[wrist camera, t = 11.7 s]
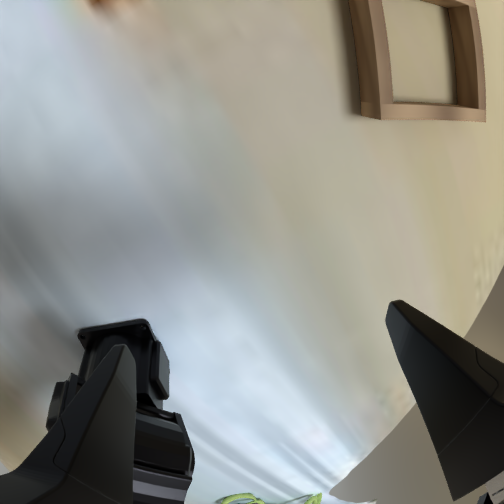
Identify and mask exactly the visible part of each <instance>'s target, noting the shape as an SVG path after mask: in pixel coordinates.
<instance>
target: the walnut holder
mask: <svg viewBox="0 0 504 504" xmlns="http://www.w3.org/2000/svg"><path fill="white" fill-rule="evenodd" d="M348 1H349V7H350V13H351V20H352V26H353V33H354V41H355V48H356V57H357V66H358V76H359V87H360V99H361V113H362V116H365V117H370V118H374V119H379V120H408V119H417V120H457V121H475V122H486V89H485V71H484V58H483V49H482V40H481V33H480V26H479V20H478V14H477V8H476V3H475V0H422V1H426V2H429V3H433V4H436V5H439V6H443V7H446V8H448V12H449V18H450V24H451V31H452V38H453V47H454V56H455V67H456V82H457V105H452V104H439V103H422V102H393V89H392V76H391V65H390V55H389V47H388V39H387V31H386V24H385V18H384V12H383V6H382V0H348Z"/></svg>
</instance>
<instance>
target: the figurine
mask: <svg viewBox="0 0 504 504" xmlns="http://www.w3.org/2000/svg"><path fill="white" fill-rule="evenodd" d="M238 498H251V499H254V501H251V502H249V503H246V504H252V503H258V504H265V503H264V502H263V501H262V500H256V497H255V496H253V495H252V494H249V493H243V494H235V495H231V496H229V497H227V498H225V499H224V500H223V501H222V503H221V504H228V503H229V502H231V501H233V500H235V499H238ZM321 498H322V493H319V494H317V496H312V497H310V498H309V499H308V500H307V501H306V502H305V503H304V504H311V503H312V504H320V502H321ZM238 504H240V503H238Z"/></svg>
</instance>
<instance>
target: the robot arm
mask: <svg viewBox="0 0 504 504" xmlns="http://www.w3.org/2000/svg"><path fill="white" fill-rule="evenodd" d="M385 321H386V326H387V329H388V332H389V335H390V338H391V340H392V343H393V346H394V349H395V352H396V355H397V358H398V361H399V363H400V366H401V368H402V370H403V372H404V374H405V377H406V379H407V381H408V384H409V386H410V388H411V390H412V393H413V395H414V397H415V400H416V402H417V404H418V407H419V409H420V411H421V414H422V416H423V419H424V421H425V424H426V426H427V429H428V432H429V434H430V437H431V439H432V442H433V444H434V447H435V450H436V452H437V454H438V458H439V461H440V463H441V466H442V469H443V472H444V475H445V478H446V481H447V484H448V487H449V490H450V493H451V496H452V499H453V501H456V500H457V499H459V498H461V497H463V496H465V495H466V494H468V493H470V492H472V491H473V490H475V489H476V488H478V487H480V486H482V485H483V484H485V486H486V488H487V490H488V492H487V493H485V494H484V495H482V496H480V498H479V500H478V503H477V504H504V363H502V362H500V361H499V360H497V359H495V358H493V357H491V356H490V355H488V354H487V353H485V352H484V351H482V350H480V349H479V348H477V347H475V346H474V345H473V344H471V343H470V342H468V341H466V340H465V339H463V338H462V337H460V336H459V335H457V334H456V333H454V332H452V331H451V330H449V329H448V328H446V327H444V326H443V325H441V324H440V323H438V322H436V321H435V320H433V319H432V318H430V317H428V316H427V315H425V314H424V313H422V312H420V311H419V310H417V309H416V308H414V307H412V306H411V305H409V304H407V303H406V302H404V301H402V300H396V301H392V302H390V303H389V306H388V310H387V314H386V320H385ZM142 326H145V327H142ZM83 335H84V336H83ZM78 339H79V340H80V342H81V344H82V345H83V347H84V349H85V352H84V356H83V359H82V363H81V367H80V370H79V374H78V376H77V375H75V374H73V373H71V375H70V377H69V379H68V380H66V381H65V382H57V383H56V385H55V388H54V392H53V395H52V399H51V403H50V407H49V412H48V417H47V422H46V428H47V430H48V433H47V435H46V436H45V437H44V438H43V439H42V441H41V442H40V443H39V444H38V445H37V446H36V448H35V449H34V450H33V451H32V452H31V453H30V454H29V456H28V457H27V458H26V459H25V460H24V461H23V462H22V464H21V465H20V466H19V467H18V468H16V469H15V470H13V471H12V472H10V473H7V474H4V475H0V504H184V500H185V497H186V493H187V490H188V488H189V486H190V484H191V482H192V475H193V471H194V465H195V457H194V451H193V448H192V445H191V442H190V440H189V437H188V434H187V431H186V428H185V426H184V423H183V420H182V417H181V414H178V413H175V412H173V413H171V412H168V411H165V410H163V400H166V399H168V397H169V374H170V369H169V360H168V358H167V356H166V353H165V351H164V349H163V346H162V344H161V342H159V341H158V340H156V338H155V336H154V333H153V331H152V329H151V326H150V324H149V322H148V321H146V320H138V321H132V322H126V323H120V324H114V325H108V326H101V327H95V328H88V329H82V330H80V331H79V332H78Z"/></svg>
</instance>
